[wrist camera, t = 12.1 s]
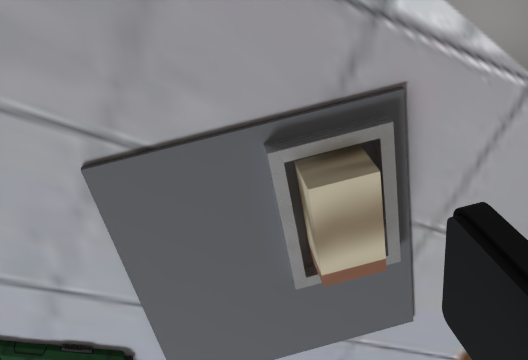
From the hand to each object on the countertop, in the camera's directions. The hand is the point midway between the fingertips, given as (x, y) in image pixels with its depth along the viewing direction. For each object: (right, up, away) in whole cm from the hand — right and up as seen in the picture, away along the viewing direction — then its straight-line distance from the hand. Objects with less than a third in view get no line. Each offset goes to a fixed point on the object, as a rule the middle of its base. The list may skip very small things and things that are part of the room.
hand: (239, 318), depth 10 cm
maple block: (+6, +1, +29) cm, 29 cm away
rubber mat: (+1, -3, +31) cm, 31 cm away
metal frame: (+6, +1, +29) cm, 30 cm away
